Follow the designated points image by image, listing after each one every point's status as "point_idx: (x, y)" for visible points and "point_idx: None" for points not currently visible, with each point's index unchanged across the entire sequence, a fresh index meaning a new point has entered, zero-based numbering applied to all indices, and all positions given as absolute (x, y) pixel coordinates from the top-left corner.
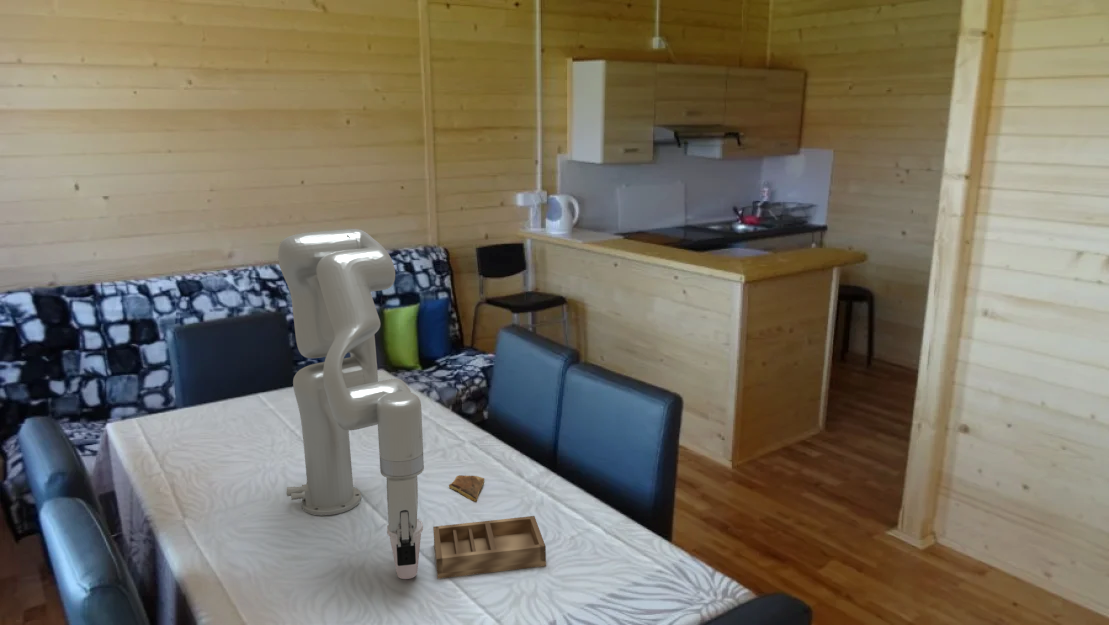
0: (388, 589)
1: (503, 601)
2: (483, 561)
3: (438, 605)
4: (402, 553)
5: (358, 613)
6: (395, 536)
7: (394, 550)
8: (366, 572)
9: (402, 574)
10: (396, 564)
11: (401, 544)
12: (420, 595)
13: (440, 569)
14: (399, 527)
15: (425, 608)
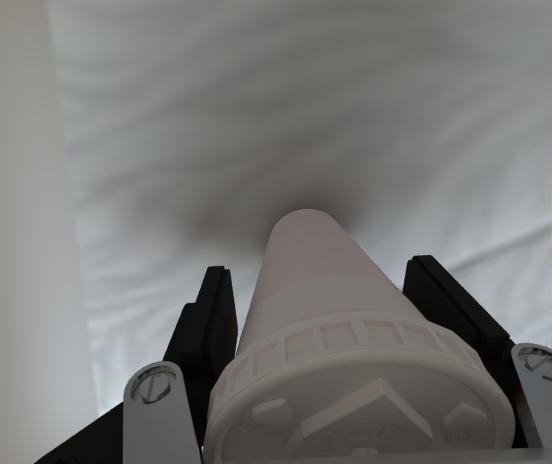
0: (235, 175)
1: None
2: None
3: (137, 323)
4: (169, 345)
5: (69, 62)
6: (229, 387)
7: (275, 276)
8: (379, 72)
9: (269, 238)
10: (282, 236)
11: (66, 443)
12: (190, 277)
13: None
14: (317, 447)
15: (120, 293)
